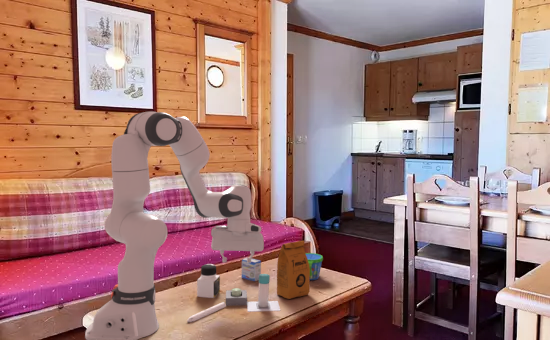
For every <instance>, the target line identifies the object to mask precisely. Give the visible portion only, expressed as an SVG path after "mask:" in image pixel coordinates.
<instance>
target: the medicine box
mask: <svg viewBox="0 0 550 340" xmlns="http://www.w3.org/2000/svg"><path fill="white" fill-rule="evenodd" d="M247 258H248V257H244V258H243V259H241V279H244V280H248V281H251V282H252V281H253V282H257V281H259V275H260V274H262V260H260V259H255V258H251V263H247Z"/></svg>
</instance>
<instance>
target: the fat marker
mask: <svg viewBox="0 0 550 340" xmlns="http://www.w3.org/2000/svg"><path fill="white" fill-rule="evenodd" d="M270 276H271V275H270V274H267V273H261V274H260V275H259V280H258V297H257V301H258V306H259V307H262V308H265V307H268V301H269V295H270V294H269V293H270V291H269V290H270V278H271V277H270Z"/></svg>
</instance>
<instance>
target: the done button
mask: <svg viewBox="0 0 550 340" xmlns="http://www.w3.org/2000/svg"><path fill="white" fill-rule="evenodd" d="M231 290H232V296H241V290H242V289H241V288H239V287H237V288H236V287H235V288H232V289H231Z"/></svg>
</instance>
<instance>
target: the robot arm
mask: <svg viewBox="0 0 550 340" xmlns="http://www.w3.org/2000/svg"><path fill="white" fill-rule="evenodd" d="M111 146H112V147H111V161H110V162H111V164H110V165H111V176H112V177H111V179H112V188H113V189H112V191H113V195H112V196H113V197H112V206H111V208H110V209H111V210H110V212H109V214H108V215H107V216H106V219H105V221H104V230H105V232H106V233H107V235H108V236H109V237H110V238H112V239H114V240H115V241H116V242H119V243H121V244H124V245H125V252H124V255H123V258H122V259H121V260H120V261H119V263H118V265H117V284H115V285H114V286H113V288H112V290H111V293H110V298H111V300H109V301H107V302H106V303H105V304H104V305H102V306H101V307H100V308H99V309H98V310H97V311H96V313H95V314H94V318H93V322H92V323H90V324H89V325H88V327H87V328H86V330H85V333H84V334H85V335H84V339H85V340H140V339H142V338H145V337H148V336H150V335H152V334H154V333H156V332H157V331H158V329H159V328H160V325H159V322H158V318H157V313H156V306H155V305H156V303H155V302H156V285H155V284H154V279H155V278H154V271H155V270H154V269H155V268H154V267H155V266H154V265H155V258H156V256H157V253H158V250H159V248H160V247H161V246H162V245H164V243H165V241H166V239H167V238H168V227H167V224H166V223H165V221H164V220H162V219H160V218H159V217H157V216H156V215H154V214H151V213H150V214H149V213H146V212H144V204H145V200H146V199H147V197H148V196H149V194H150V192H151V184H150V183H151V182H150V181H151V180H150V170H149V169H150V168H149V160H148V157H149V151H150V149H151V147H166V146H169V147H170V148H171V150H172V151H173V153H174V155H175V156H176V158H177V160H178V163H179V169H180V173H181V175H182V178H183V180H184V182H185V185H186V186H187V187H186V188H187V189H188V191H189V193H190V195H191V198H192V200H193V201H192V202H193V205H194V210H195V212H196V214H197V215H198V216H200V217H201V218H216V219H217V218H218V219H219V218H220V219H221V218H222V219H227V221H226V222H227V225H215V226H213V227H212V228H211V232H210V234H211V237H212V239H211V246H210V248H211V249H212V250H213V251H219V254H220V255H221V257H222V263H228V261H227V260H228V258H227V257H225V256H224V253H225V251H237V252H239V251H240V252H242V251H243V252H249V253H250V255H249V257H246V258H247V263H251V259H253V258H254V255H255V252H262V251H263V250H264V249H265V246H264V245H265V243H264V235H263V234H262V233H261V232H262V227H261V226H260V225H257V224H255V223H254V222H253V223H252V222H251V215H250V213H251V209H252V193H251V189H250V187H248V186H247V185H245V184H244V185H243V184H239V183H237V184H235V183H233V184H232V185H230V187H229V188H227V189H226V190H223V191H211V190H210V189H208V188H207V186H205V182H204V181H203V177H202V175H201V173H200V171H201V170H202V169H203V168H204V167H205V166H206V165H207V164H208V163H209V159H210V154H211V153H210V150H209V146H208V144H207V142H205V139H204V138H203V136H202V134H201V133H200V131H199V130H198V129H197V127H196V126H195V125H194V123H193V122H192V121H191V120H190V119H189V118H188V117H186V116H176V117H173V116H172V115H171V114H169V113H166V112H164V111H163V112H161V111H157V112H156V111H145V112H144V111H143V112H138V113H135V114H134V115H132V116H130V119H129V120H128V122H127V124H126V128H125V130H124V132H123V134H121V135H118V136H117V137H115V138H114V139H113V141H112V145H111Z"/></svg>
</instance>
